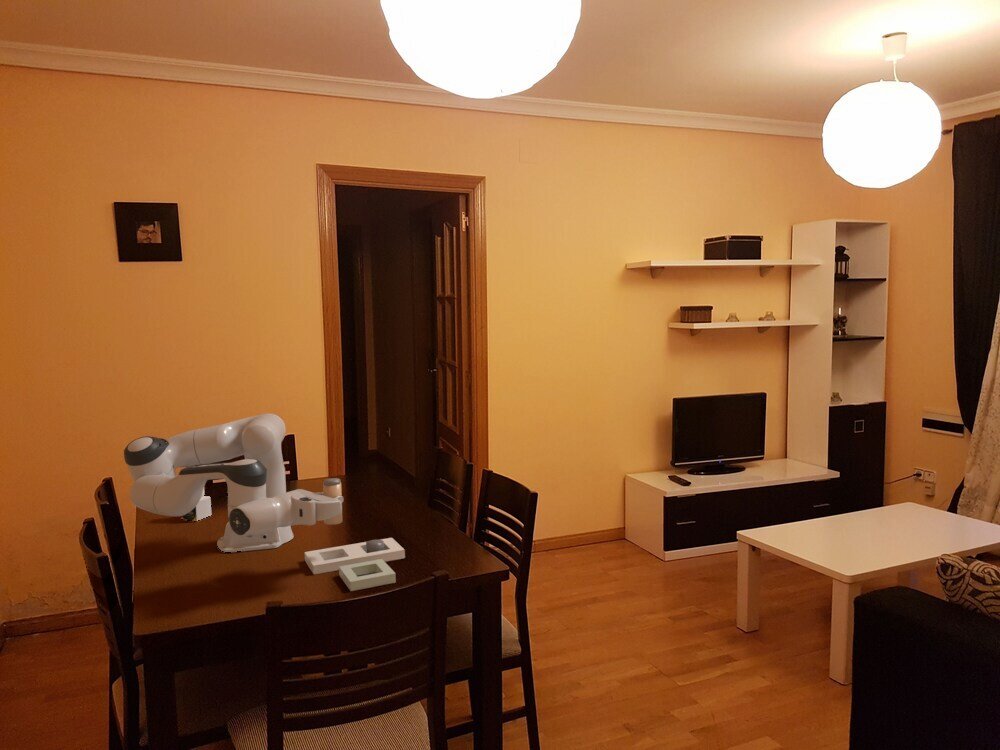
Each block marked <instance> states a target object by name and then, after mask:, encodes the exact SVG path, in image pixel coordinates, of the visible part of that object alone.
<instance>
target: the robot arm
mask: <svg viewBox="0 0 1000 750" xmlns="http://www.w3.org/2000/svg"><path fill="white" fill-rule="evenodd" d="M286 434H287V428H286V424H285V421H284V420H283V419H282V418H281V417H280V415H279V416H278V415H277V414H275V413H272V412H271V413H269V412H268V413H261V414H257V415H253V416H249V417H245V418H241V419H237V420H233V421H229V422H226V423H221V424H216V425H212V426H207V427H202V428H197V429H191V430H188V431H184V432H181V433H178V434H176V435H173V436H170V437H168V438H161V437H156V436H148V435H147V436H141V437H138V438H136V439H134V440H132V441H130V442H129V443H128V444H127V446H125V448H124V449H123V457H124V461H125V464H126V466H127V468H128V471H129V475H130V476H131V479H132V481H133V484H132V485H131V488H130V492H129V495H130V501H131V503H132V504H133V505H134V506H135V507H137V508H138V509H140V510H143V511H146V512H148V513H151V514H156V515H161V516H166V517H181V516H183V515H185V514H187V513H189V512H190V511H192V510H193V509H194V508H195V507H196V505H197V504H198V502H199V501H200V499H201V496H202V492H203V489H204V490H205V486H206V483H207V482H208V481H209V480H223V479H224V480H225V482H226V484H227V493H228V496H227V516H228V522H227V523H226V525H225V528H224V535H223V536H221V537H220V538H219V539H217V542H216V546H218V547H217V549H218V548H219V549H220V550H221V551H220V550H219V549H218V550H219V551H220V552H222V551H224V552H223V553H225V552H231V553H237V551H241V552H248V551H259V550H269V549H277V548H279V547H281V546H282V545H283V544H285V543H289V541H291V540H292V539H294V533H293V531H292V527H291V526H299V525H300V526H302V525H303V526H313V525H316V522H319V521H324V520H325V519H328V518H331V517H334V516H337V515H339V514H340V513H341V512H342V513H343V503H344V496H335V498H330V497H327V496H323V491H322V492H312V491H309V490H306V489H303V488H298V489H297V488H296V489H294V490H291V491H287V484H286V480H287V479H286V467H285V464H284V459H283V453H282V443H283V441H284V438H285V437H286ZM241 456H243V457H244V459H240V460H235V461H229V460H232V459H235V458H239V457H241ZM224 461H226V462H224ZM179 468H181V469H180V471H179V472H178V474H177V471H176V470H177V469H179ZM341 503H342V505H341Z"/></svg>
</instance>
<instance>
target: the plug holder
mask: <svg viewBox="0 0 1000 750" xmlns="http://www.w3.org/2000/svg"><path fill="white" fill-rule="evenodd" d="M338 574H339V577H340V578H341V580H342V581H343V583H344V584H345V585H346V587H347V588H348V590H349V591H350V592H355V591H359V590H364V589H369V588H375V587H379V586H385V585H389V584H395V583H396V582H397V581H396V580H397V578H396V575H397V574H396V572H395V571H394V570H393V569H392V568H391V567H390V565H388V564H387V562H384V561H383V559H379V560H373V561H367V562H362V563H356V564H351V565H345V566H339V570H338Z"/></svg>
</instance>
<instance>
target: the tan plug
mask: <svg viewBox="0 0 1000 750" xmlns="http://www.w3.org/2000/svg"><path fill="white" fill-rule="evenodd" d="M322 492H323V496H327V497H330V498H335V496H342V482H341V479H340V478H338V477H335V478H334V477H333V478H332V477H331V478H325V479H324V480H323V483H322ZM341 505H342V506H343V503H341ZM323 522H324V524H325V525H331V526H333V525H339V524H341V523H343V511H342V512H341V513H340V514H339V515H337V516H334V517H331V518H328V519H325V520H323Z"/></svg>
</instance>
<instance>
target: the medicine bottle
mask: <svg viewBox="0 0 1000 750" xmlns="http://www.w3.org/2000/svg"><path fill="white" fill-rule="evenodd" d="M204 495H206V494H205V488H204V489H203V492H202V496H201V499H200V501H199V502H198V504H197V505H196V507H195V508H194V509H193V510H192V511H190V512H189V513H187V514H185V515H183V516H180V520H181V519H185V520H184V521H187V520H192V521H191V522H194V521H197V522H199V521H198V520H200V521H202V520H201V519H203V518H205V519H207V518H206V517H208V516H210V517H212V516H211V515H213V514H212V507H211V505H212V500H211V497H210V496H204ZM208 518H209V517H208ZM203 520H204V519H203Z"/></svg>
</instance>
